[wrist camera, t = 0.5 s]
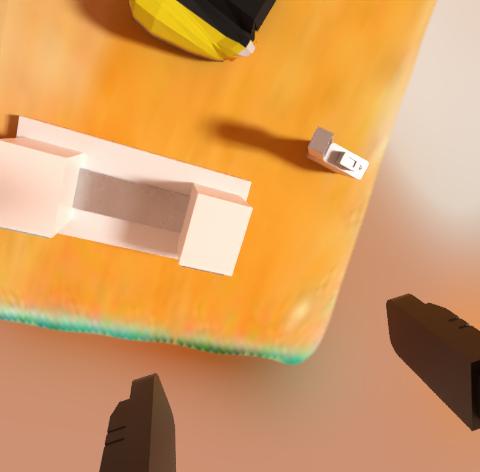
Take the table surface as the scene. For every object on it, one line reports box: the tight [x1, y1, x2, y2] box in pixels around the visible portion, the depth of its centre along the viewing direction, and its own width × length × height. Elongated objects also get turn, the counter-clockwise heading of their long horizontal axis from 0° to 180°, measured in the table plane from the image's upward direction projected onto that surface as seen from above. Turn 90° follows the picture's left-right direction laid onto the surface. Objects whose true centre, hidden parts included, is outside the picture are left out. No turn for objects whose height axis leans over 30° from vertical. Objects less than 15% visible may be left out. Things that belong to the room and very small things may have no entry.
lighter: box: [306, 127, 368, 179], centre depth 32 cm, size 7×2×8 cm, turn 64°
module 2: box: [177, 183, 253, 276], centre depth 32 cm, size 6×4×6 cm
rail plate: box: [16, 116, 252, 259], centre depth 33 cm, size 9×20×1 cm, turn 73°
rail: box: [72, 167, 190, 233], centre depth 33 cm, size 4×19×1 cm, turn 73°
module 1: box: [0, 137, 84, 238], centre depth 28 cm, size 6×4×6 cm
